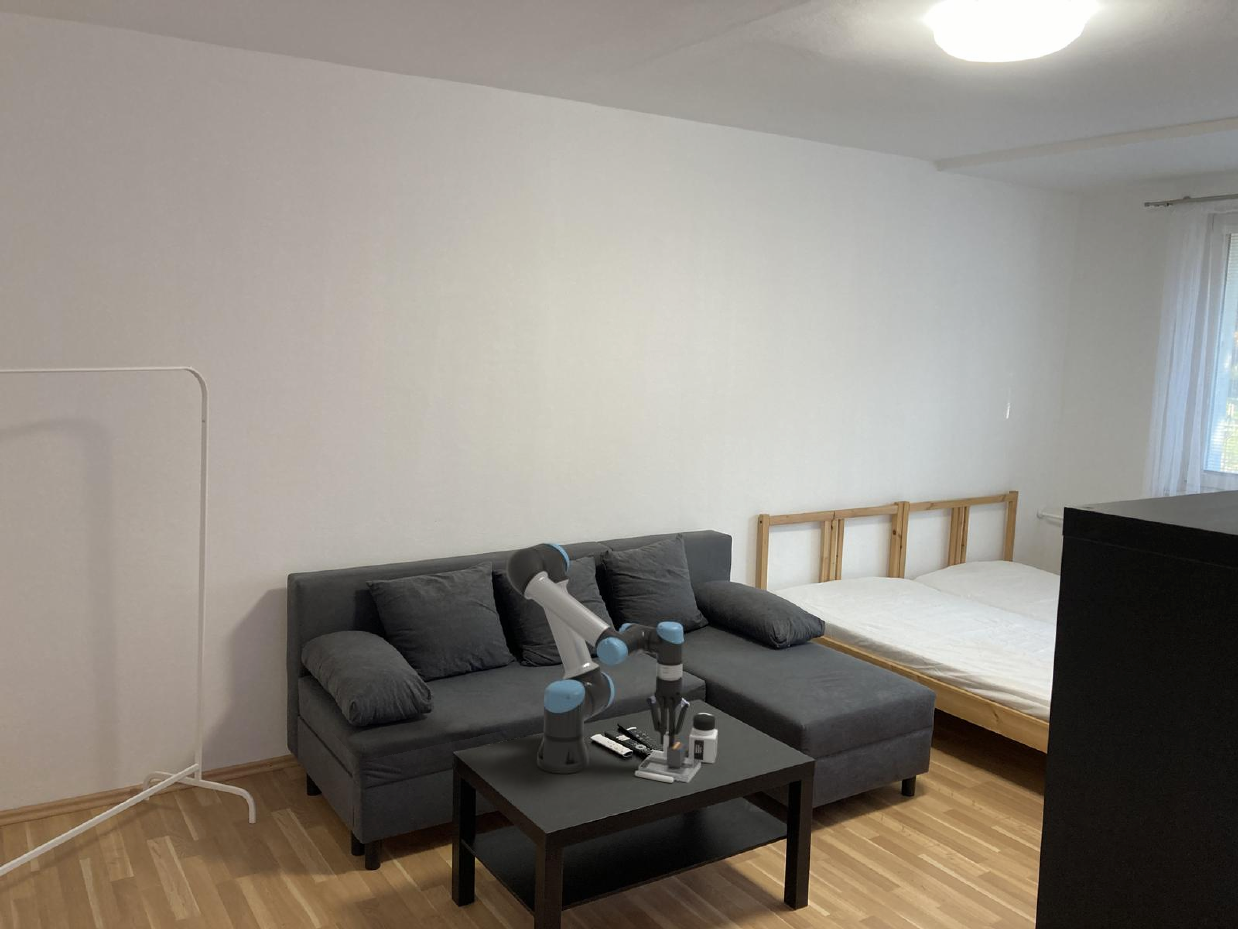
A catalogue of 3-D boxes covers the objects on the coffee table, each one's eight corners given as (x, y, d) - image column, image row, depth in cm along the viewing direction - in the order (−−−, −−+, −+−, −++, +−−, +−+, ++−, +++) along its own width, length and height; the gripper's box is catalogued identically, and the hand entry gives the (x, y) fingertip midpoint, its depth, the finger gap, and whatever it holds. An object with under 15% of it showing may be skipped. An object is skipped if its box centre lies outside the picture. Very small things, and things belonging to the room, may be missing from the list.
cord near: (634, 776, 284) (634, 771, 284) (636, 774, 285) (636, 769, 285) (672, 784, 280) (672, 778, 279) (674, 782, 281) (674, 776, 281)
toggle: (666, 764, 287) (667, 747, 286) (672, 758, 291) (672, 741, 291) (679, 767, 285) (680, 749, 285) (685, 760, 290) (685, 743, 289)
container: (714, 763, 294) (715, 721, 293) (688, 761, 296) (689, 718, 294) (716, 753, 302) (718, 712, 300) (691, 751, 303) (693, 709, 302)
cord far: (640, 754, 300) (640, 748, 300) (642, 752, 301) (642, 747, 301) (677, 760, 296) (677, 755, 296) (678, 758, 297) (678, 753, 297)
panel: (638, 773, 286) (638, 765, 286) (652, 758, 297) (652, 750, 297) (688, 782, 281) (688, 775, 281) (700, 766, 292) (701, 759, 292)
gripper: (643, 677, 285) (641, 756, 288) (686, 683, 280) (684, 764, 283) (652, 669, 292) (650, 747, 295) (694, 675, 287) (692, 754, 290)
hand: (667, 755), depth 289 cm, fingers closed
